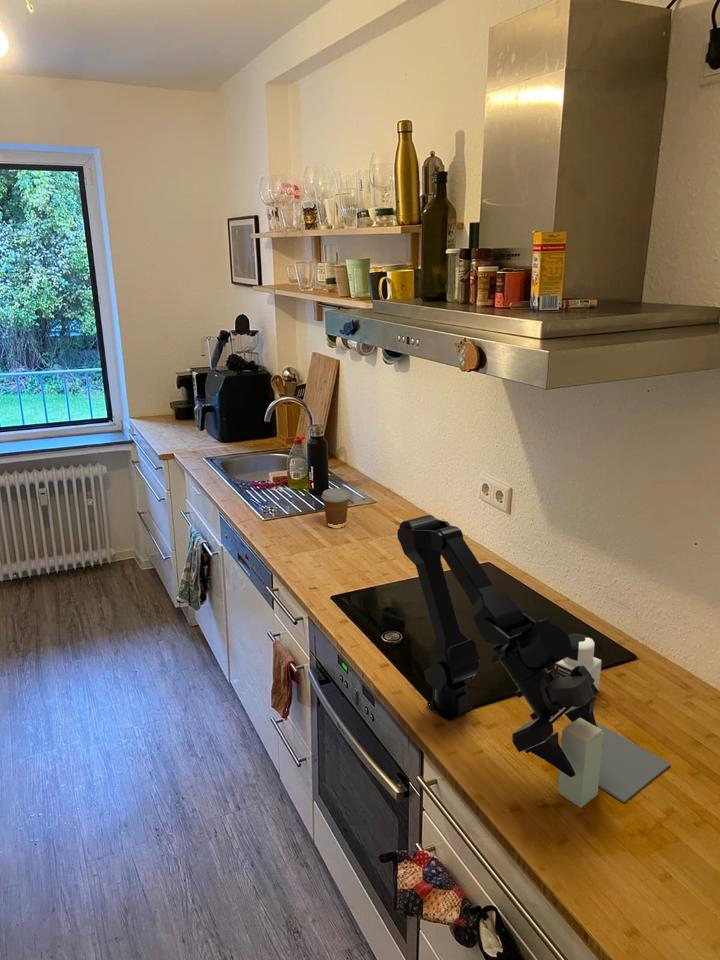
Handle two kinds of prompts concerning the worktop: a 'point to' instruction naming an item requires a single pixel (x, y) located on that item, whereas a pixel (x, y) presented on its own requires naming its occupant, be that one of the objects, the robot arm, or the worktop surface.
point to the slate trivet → (626, 766)
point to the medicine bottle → (580, 658)
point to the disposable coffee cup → (336, 505)
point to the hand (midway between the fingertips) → (587, 761)
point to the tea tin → (581, 761)
